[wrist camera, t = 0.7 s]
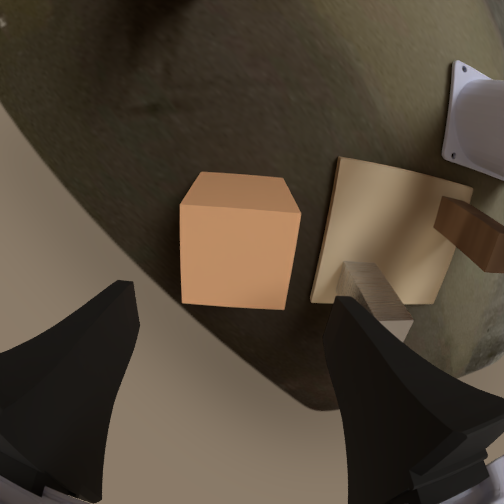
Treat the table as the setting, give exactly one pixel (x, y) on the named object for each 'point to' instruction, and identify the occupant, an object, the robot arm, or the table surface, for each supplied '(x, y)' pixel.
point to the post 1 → (375, 296)
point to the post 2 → (472, 233)
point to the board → (386, 229)
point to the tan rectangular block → (237, 241)
